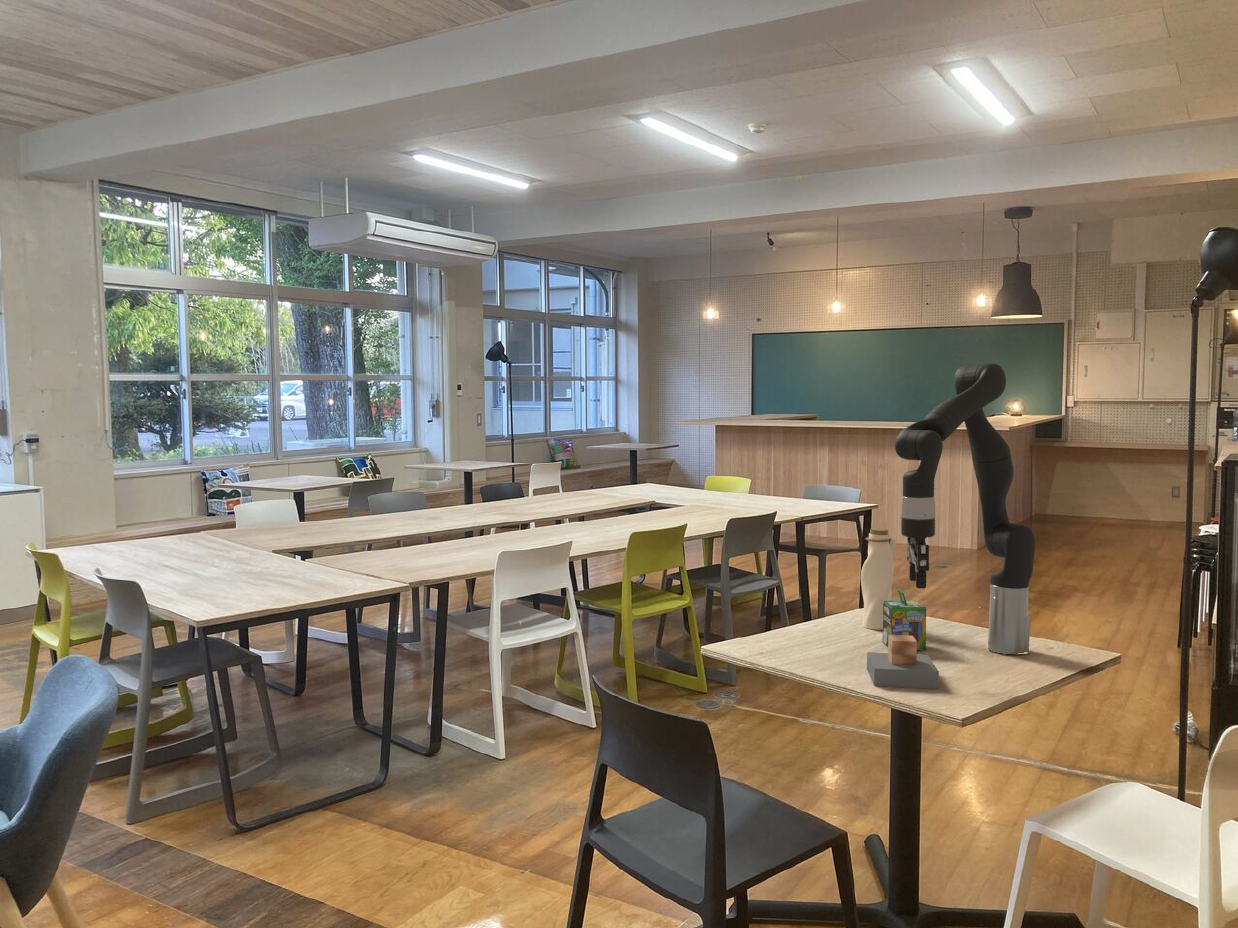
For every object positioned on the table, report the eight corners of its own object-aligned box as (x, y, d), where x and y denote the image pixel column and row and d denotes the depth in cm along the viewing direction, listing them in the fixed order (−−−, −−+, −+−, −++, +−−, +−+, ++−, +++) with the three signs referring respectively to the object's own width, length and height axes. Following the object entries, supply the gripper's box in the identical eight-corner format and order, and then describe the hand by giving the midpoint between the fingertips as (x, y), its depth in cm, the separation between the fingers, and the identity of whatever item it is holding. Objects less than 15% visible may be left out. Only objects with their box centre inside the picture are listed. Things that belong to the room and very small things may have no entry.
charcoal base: (927, 671, 226) (927, 654, 225) (938, 688, 212) (938, 671, 212) (866, 668, 228) (867, 652, 227) (873, 685, 214) (874, 668, 214)
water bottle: (870, 620, 278) (872, 525, 276) (899, 625, 272) (902, 528, 270) (854, 626, 270) (857, 529, 268) (884, 631, 264) (887, 532, 262)
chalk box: (926, 651, 244) (928, 594, 243) (890, 651, 244) (892, 594, 243) (915, 642, 253) (917, 587, 252) (881, 641, 253) (882, 587, 252)
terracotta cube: (911, 658, 222) (912, 635, 221) (916, 665, 216) (917, 641, 216) (887, 657, 222) (888, 634, 222) (891, 664, 217) (892, 640, 217)
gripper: (941, 519, 213) (940, 591, 214) (928, 511, 227) (928, 578, 228) (906, 519, 214) (906, 590, 215) (896, 511, 228) (896, 578, 229)
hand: (917, 584), depth 222 cm, fingers open, 8 cm apart
